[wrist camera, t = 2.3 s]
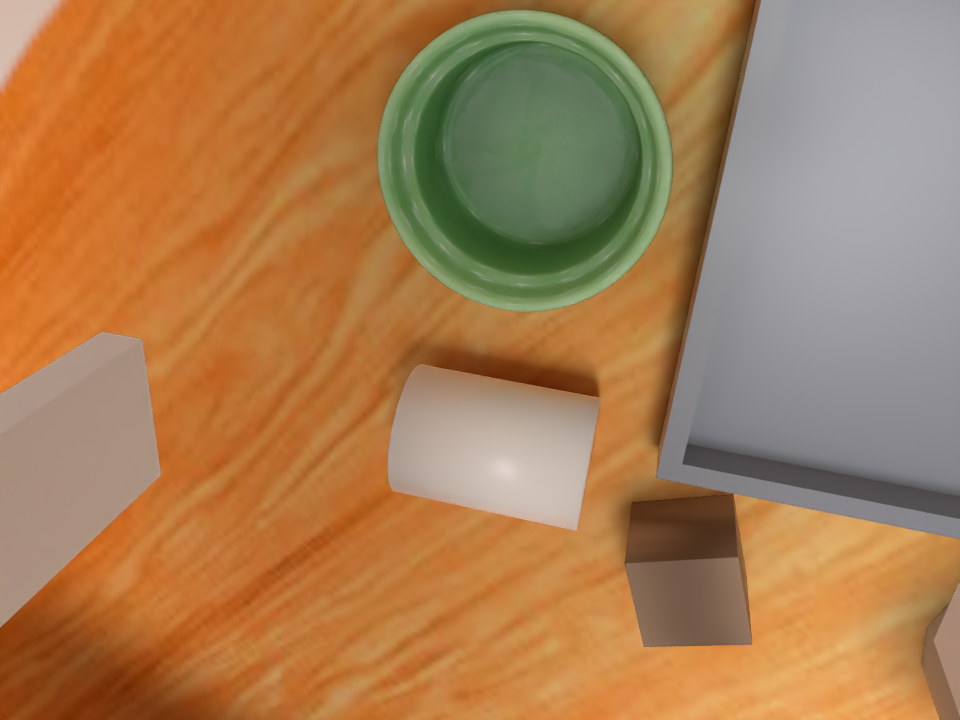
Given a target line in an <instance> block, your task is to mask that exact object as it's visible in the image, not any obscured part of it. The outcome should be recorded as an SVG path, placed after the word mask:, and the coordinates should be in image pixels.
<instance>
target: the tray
mask: <svg viewBox="0 0 960 720" xmlns="http://www.w3.org/2000/svg"><path fill="white" fill-rule="evenodd" d="M656 478H659V479H664V480H669V481H674V482H679V483H684V484H689V485H694V486H699V487H704V488H709V489H714V490H719V491H724V492H729V493H734V494H739V495H744V496H749V497H753V498H758V499H763V500H768V501H773V502H778V503H783V504H788V505H793V506H798V507H803V508H808V509H813V510H818V511H823V512H828V513H833V514H838V515H843V516H848V517H853V518H858V519H863V520H868V521H873V522H878V523H882V524H887V525H892V526H897V527H902V528H907V529H912V530H917V531H922V532H927V533H932V534H937V535H942V536H947V537H952V538H957V539H960V0H756V2H755V7H754V11H753V16H752V21H751V25H750V30H749V34H748V39H747V44H746V48H745V53H744V57H743V62H742V67H741V71H740V76H739V80H738V85H737V90H736V94H735V99H734V103H733V108H732V112H731V117H730V122H729V126H728V131H727V135H726V140H725V145H724V149H723V154H722V158H721V163H720V168H719V172H718V177H717V181H716V186H715V191H714V195H713V200H712V204H711V209H710V213H709V218H708V223H707V227H706V232H705V236H704V241H703V246H702V250H701V255H700V259H699V264H698V269H697V273H696V278H695V282H694V287H693V291H692V296H691V301H690V305H689V310H688V314H687V319H686V324H685V328H684V333H683V337H682V342H681V347H680V351H679V356H678V360H677V365H676V370H675V374H674V379H673V383H672V388H671V392H670V397H669V402H668V406H667V411H666V415H665V420H664V425H663V429H662V434H661V438H660V443H659V448H658V459H657V472H656Z"/></svg>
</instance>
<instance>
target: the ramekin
mask: <svg viewBox="0 0 960 720" xmlns="http://www.w3.org/2000/svg"><path fill="white" fill-rule="evenodd" d="M377 163H378V175H379V181H380V186H381V190H382V195H383V198H384V201H385V205H386V208H387V211H388V213H389V215H390V217H391V219H392V222H393V224H394V226H395V228H396V230H397V232H398V234H399V235H400V237H401V239H402V240H403V242H404V244H405V245H406V247H407V248H408V249H409V251H410V252H411V253H412V254H413V256H414V257H415V258H416V259H417V261H418V262H419V263H420V264H421V265H422V266H423V267H424V268H425V269H426V270H427V271H428V272H429V273H430V274H431V275H433V276H434V277H435V278H436V279H437V280H439V281H440V282H441V283H443V284H444V285H445V286H447V287H449V288H450V289H452V290H453V291H455V292H457V293H459V294H460V295H462V296H464V297H466V298H468V299H470V300H473V301H475V302H478V303H481V304H484V305H486V306H490V307H493V308H498V309H504V310H510V311H524V312H534V311H547V310H553V309H558V308H562V307H566V306H569V305H572V304H575V303H578V302H581V301H583V300H586V299H588V298H590V297H592V296H594V295H596V294H598V293H599V292H601V291H603V290H605V289H606V288H608V287H609V286H611V285H612V284H614V283H615V282H616V281H618V280H619V279H620V278H621V277H622V276H623V275H624V274H625V273H627V272H628V271H629V270H630V269H631V268H632V267H633V265H634V264H635V263H636V262H637V261H638V260H639V259H640V257H641V256H642V255H643V253H644V252H645V251H646V249H647V248H648V246H649V245H650V243H651V242H652V240H653V238H654V236H655V234H656V232H657V230H658V228H659V226H660V224H661V222H662V219H663V217H664V214H665V211H666V208H667V204H668V200H669V196H670V191H671V186H672V177H673V154H672V144H671V138H670V133H669V128H668V124H667V120H666V117H665V114H664V112H663V109H662V106H661V104H660V101H659V99H658V97H657V95H656V93H655V91H654V89H653V87H652V85H651V84H650V82H649V81H648V79H647V78H646V76H645V75H644V73H643V72H642V71H641V69H640V68H639V67H638V66H637V64H636V63H635V62H634V61H633V60H632V59H631V58H630V57H629V55H628V54H627V53H625V52H624V51H623V50H622V49H621V48H620V47H619V46H618V45H617V44H615V43H614V42H613V41H612V40H610V39H609V38H608V37H606V36H605V35H603V34H602V33H600V32H598V31H597V30H595V29H593V28H591V27H590V26H588V25H586V24H584V23H581V22H579V21H577V20H574V19H572V18H569V17H566V16H563V15H559V14H556V13H551V12H545V11H537V10H525V9H518V10H502V11H497V12H492V13H487V14H483V15H480V16H477V17H474V18H471V19H468V20H466V21H464V22H462V23H459V24H457V25H455V26H454V27H452V28H450V29H449V30H447V31H445V32H444V33H442V34H441V35H439V36H438V37H437V38H435V39H434V40H433V41H432V42H430V43H429V44H428V45H427V46H426V47H425V48H424V49H423V50H422V51H421V52H420V53H418V54H417V55H416V56H415V58H414V59H413V60H412V61H411V62H410V63H409V65H408V66H407V67H406V69H405V70H404V71H403V73H402V74H401V76H400V78H399V79H398V81H397V83H396V84H395V86H394V88H393V90H392V92H391V94H390V97H389V99H388V101H387V104H386V107H385V110H384V113H383V117H382V120H381V125H380V129H379V135H378V151H377Z"/></svg>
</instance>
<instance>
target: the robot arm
mask: <svg viewBox="0 0 960 720" xmlns="http://www.w3.org/2000/svg"><path fill="white" fill-rule="evenodd" d="M160 476H161V470H160V463H159V456H158V449H157V441H156V434H155V427H154V420H153V412H152V405H151V398H150V390H149V383H148V376H147V369H146V361H145V354H144V347H143V339H140V338H134V337H129V336H123V335H118V334H112V333H107V332H100V333H99V334H97V335H96V336H94V337H92V338H91V339H89V340H87V341H86V342H84V343H82V344H81V345H79V346H78V347H76V348H74V349H73V350H71V351H69V352H68V353H66V354H65V355H63V356H61V357H60V358H58V359H56V360H55V361H53V362H52V363H50V364H48V365H47V366H45V367H43V368H42V369H40V370H38V371H37V372H35V373H34V374H32V375H30V376H29V377H27V378H25V379H24V380H22V381H21V382H19V383H17V384H16V385H14V386H12V387H11V388H9V389H7V390H6V391H4V392H3V393H1V394H0V627H1V626H3V625H4V624H5V623H6V622H7V621H8V620H9V619H10V618H11V617H12V616H13V615H14V614H15V613H16V612H17V611H18V610H19V609H20V608H22V607H23V606H24V605H25V604H26V603H27V602H28V601H29V600H30V599H31V598H32V597H33V596H34V595H35V594H36V593H37V592H38V591H39V590H41V589H42V588H43V587H44V586H45V585H46V584H47V583H48V582H49V581H50V580H51V579H52V578H53V577H54V576H55V575H56V574H57V573H58V572H60V571H61V570H62V569H63V568H64V567H65V566H66V565H67V564H68V563H69V562H70V561H71V560H72V559H73V558H74V557H75V556H76V555H77V554H79V553H80V552H81V551H82V550H83V549H84V548H85V547H86V546H87V545H88V544H89V543H90V542H91V541H92V540H93V539H94V538H95V537H96V536H98V535H99V534H100V533H101V532H102V531H103V530H104V529H105V528H106V527H107V526H108V525H109V524H110V523H111V522H112V521H113V520H114V519H115V518H117V517H118V516H119V515H120V514H121V513H122V512H123V511H124V510H125V509H126V508H127V507H128V506H129V505H130V504H131V503H132V502H133V501H134V500H136V499H137V498H138V497H139V496H140V495H141V494H142V493H143V492H144V491H145V490H146V489H147V488H148V487H149V486H150V485H151V484H152V483H153V482H155V481H156V480H157V479H158V478H159V477H160ZM934 643H935V646H936V649H937V652H938V655H939V658H940V661H941V664H942V666H943V669H944V672H945V675H946V678H947V681H948V684H949V687H950V690H951V692H952V695H953V698H954V701H955V704H956V707H957V710H958V713H959V716H960V581H959V584H958V586H957V588H956V591H955V593H954V595H953V597H952V600H951V602H950V604H949V606H948V609H947V611H946V613H945V616H944V618H943V620H942V622H941V625H940V627H939V629H938V631H937V634H936V636H935V638H934Z"/></svg>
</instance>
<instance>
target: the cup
mask: <svg viewBox="0 0 960 720" xmlns="http://www.w3.org/2000/svg"><path fill="white" fill-rule="evenodd" d="M949 604H950V603H949ZM949 604H948V605H947V606H946V608H945V609H944V610H943V611H942V612H941V613H940V614H939V615H938V616H937V618H936V619H935V620H934V621H933V622H932V623H931V624H930V625H929V626H928V628H927V631H926V637H925V643H924V650H923V656H922V662H921V664H922V667H923V670H924V673H925V676H926V679H927V682H928V685H929V688H930V691H931V694H932V698H933V701H934V704H935V707H936V710H937V713H938V716H939V719H940V720H960V716H959V713H958V710H957V707H956V704H955V701H954V698H953V695H952V692H951V690H950V687H949V684H948V681H947V678H946V675H945V672H944V669H943V666H942V664H941V661H940V658H939V655H938V652H937V649H936V646H935V643H934V638H935V636H936V634H937V631H938V629H939V627H940V625H941V622H942V620H943V618H944V616H945V613H946V611H947V609H948V606H949Z"/></svg>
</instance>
